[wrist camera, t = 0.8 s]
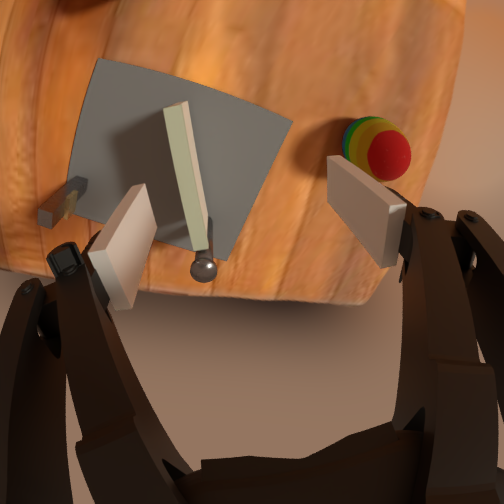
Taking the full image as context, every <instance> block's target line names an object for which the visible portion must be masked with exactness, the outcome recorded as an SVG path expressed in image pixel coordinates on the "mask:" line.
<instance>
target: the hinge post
mask: <svg viewBox="0 0 504 504" xmlns="http://www.w3.org/2000/svg"><path fill="white" fill-rule="evenodd" d="M207 239H208V243H209V248H208V249H204V250H197V251H196V255H195V261H193V263H192V264H191V269H190V273H191V276H192V277H193V279H195V280H196V281H198V282H202V283H206V282H210V281H212V280H213V279H214V278H215V277H216V275H217V265H216V264H215V262H214V261H213V220H212V218H211V217H209V216H208V225H207Z"/></svg>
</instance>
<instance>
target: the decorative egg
mask: <svg viewBox="0 0 504 504" xmlns="http://www.w3.org/2000/svg"><path fill="white" fill-rule="evenodd" d="M342 150H343V154H344V157H345V159H346V160H348V161H349V162H351V163H352V164H354V165H355V166H357V167H358V168H359V169H361V170H362V171H364V172H365V173H367V174H368V175H369V176H371V177H372V178H374V179H375V180H376V181H378V182H387V181H392V180H395V179H397V178H399V177H400V176H402V175H403V174H404V173H405V172H406V170H407V169H408V167H409V165H410V161H411V150H410V146H409V143H408V140H407V138H406V137H405V135H404V134H403V133H402V131H401V130H400V129H399V128H398V127H397V126H395V125H394V124H393V123H391V122H390V121H388V120H386V119H383V118H380V117H372V116H369V117H363V118H360V119H358V120H356V121H354V122H353V123H351V124H350V125H349V126H348V128H347V129H346V131H345V133H344V135H343V139H342Z"/></svg>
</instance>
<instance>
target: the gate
mask: <svg viewBox="0 0 504 504" xmlns="http://www.w3.org/2000/svg"><path fill="white" fill-rule="evenodd" d="M163 111H164V117H165V123H166V128H167V133H168V138H169V144H170V149H171V154H172V159H173V163H174V168H175V173H176V178H177V182H178V187H179V191H180V196H181V200H182V205H183V209H184V213H185V218H186V222H187V226H188V230H189V234H190V238H191V242H192V246H193V250H194V251H197V250H204V249H208V248H209V243H208V239H207V225H208V212H207V207H206V202H205V196H204V191H203V186H202V180H201V175H200V170H199V164H198V159H197V153H196V147H195V141H194V136H193V130H192V124H191V118H190V111H189V105H188V101H183V102H178V103H176V104H173V105H171V106H169V107H166V108H163Z"/></svg>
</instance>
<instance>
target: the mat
mask: <svg viewBox="0 0 504 504" xmlns="http://www.w3.org/2000/svg"><path fill="white" fill-rule="evenodd" d="M183 101H188V105H189V111H190V118H191V124H192V130H193V136H194V141H195V147H196V153H197V159H198V164H199V170H200V175H201V180H202V186H203V191H204V196H205V202H206V207H207V212H208V216H209V217H211V218H212V220H213V257H214V258H217V259H221V260H224V261H227V259H228V257H229V255H230V253H231V251H232V249H233V246H234V244H235V242H236V240H237V238H238V236H239V234H240V231H241V229H242V227H243V225H244V223H245V221H246V219H247V216H248V214H249V212H250V210H251V208H252V206H253V204H254V202H255V199H256V197H257V195H258V193H259V191H260V189H261V187H262V185H263V183H264V181H265V178H266V176H267V174H268V172H269V170H270V168H271V166H272V164H273V162H274V160H275V158H276V156H277V154H278V151H279V149H280V147H281V145H282V143H283V141H284V139H285V137H286V135H287V133H288V131H289V129H290V127H291V125H292V123H293V121H291V120H289V119H287V118H284V117H282V116H280V115H278V114H276V113H273V112H271V111H269V110H266V109H264V108H262V107H259V106H257V105H254V104H252V103H250V102H247V101H245V100H242V99H239V98H237V97H234V96H232V95H229V94H226V93H224V92H221V91H218V90H215V89H212V88H210V87H207V86H204V85H201V84H198V83H195V82H192V81H188V80H185V79H182V78H179V77H175V76H172V75H168V74H165V73H161V72H158V71H154V70H150V69H146V68H142V67H138V66H134V65H130V64H125V63H121V62H116V61H111V60H106V59H100V58H98V61H97V64H96V66H95V69H94V72H93V75H92V78H91V81H90V84H89V87H88V90H87V94H86V97H85V100H84V104H83V107H82V111H81V115H80V119H79V123H78V127H77V131H76V135H75V140H74V145H73V149H72V154H71V160H70V165H69V171H68V178H67V183H68V182H69V181H70V180H71V179H73V178H74V177H75V176H76V175H77V176H80V177H84V178H87V179H89V180H88V185H87V191H86V193H85V194H84V195H83V196H82V197H81V198H80V199H79V200H78V201H77V202H76V210H75V212H74V213H73V214H75V215H78V216H81V217H84V218H87V219H90V220H93V221H97V222H100V223H103V224H106V223H107V221H108V220H109V218H110V217H111V215H112V214H113V212H114V211H115V209H116V208H117V206H118V205H119V204H120V202H121V201H122V199H123V198H124V196H125V195H126V194H127V192H128V191H129V190H130V188H131V187H132V186H135V185H139V184H143V183H145V185H146V189H147V193H148V197H149V200H150V204H151V208H152V211H153V215H154V218H155V222H156V225H157V230H156V233H155V236H154V240H158V241H161V242H164V243H167V244H171V245H174V246H177V247H181V248H184V249H187V250H191V251H194V250H193V246H192V242H191V238H190V234H189V230H188V226H187V222H186V218H185V213H184V209H183V205H182V200H181V196H180V191H179V187H178V182H177V178H176V173H175V168H174V163H173V159H172V154H171V149H170V144H169V138H168V133H167V128H166V123H165V117H164V111H163V108H166V107H169V106H171V105H173V104H176V103H178V102H183ZM194 252H196V251H194Z"/></svg>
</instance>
